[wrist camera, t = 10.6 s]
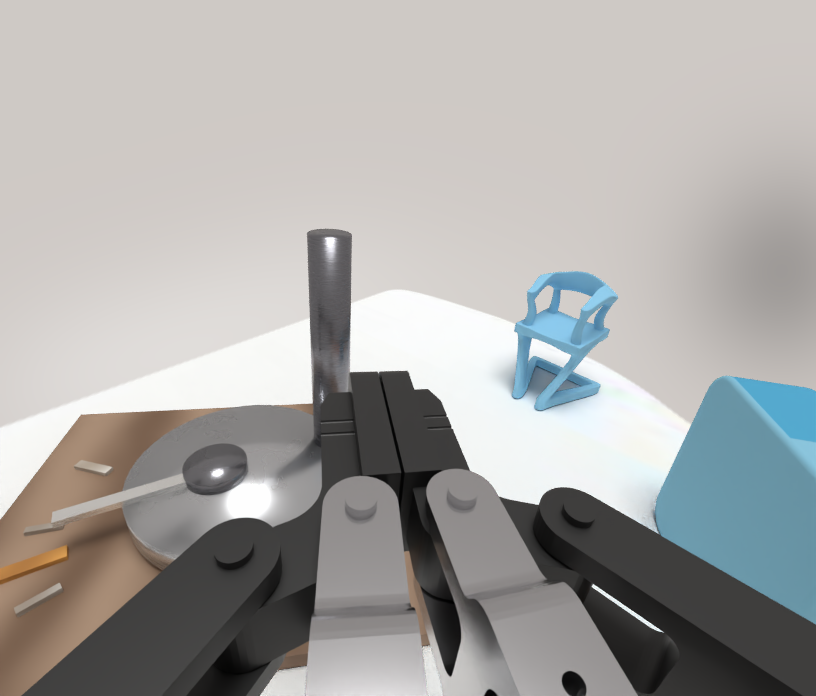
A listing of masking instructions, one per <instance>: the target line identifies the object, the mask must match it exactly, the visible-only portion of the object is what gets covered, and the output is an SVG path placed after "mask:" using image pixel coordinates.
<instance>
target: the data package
mask: <svg viewBox="0 0 816 696" xmlns="http://www.w3.org/2000/svg"><path fill="white" fill-rule="evenodd" d="M655 516H656V523H657V526H658V529H659V532H660V534H661V536H662V537H664V538H666V539H668V540H669V541H671V542H673V543H675V544H676V545H678V546H680V547H682V548H683V549H685V550H687V551H689V552H690V553H692V554H694V555H696V556H697V557H699V558H701V559H703V560H704V561H706V562H708V563H710V564H711V565H713V566H715V567H717V568H718V569H720V570H722V571H724V572H725V573H727V574H729V575H731V576H732V577H734V578H736V579H738V580H739V581H741V582H743V583H745V584H746V585H748V586H750V587H751V588H753V589H755V590H757V591H758V592H760V593H762V594H764V595H765V596H767V597H769V598H771V599H772V600H774V601H776V602H778V603H779V604H781V605H783V606H785V607H786V608H788V609H790V610H792V611H793V612H795V613H797V614H799V615H800V616H802V617H804V618H806V619H807V620H809V621H811V622H813V623H814V624H816V391H814V390H812V389H809V388H805V387H798V386H791V385H784V384H778V383H771V382H765V381H758V380H752V379H745V378H738V377H732V376H722V377H720V378H718V379H716V380H715V381H714V382H713V383H712V384H711V386H710V387H709V389H708V391H707V393H706V395H705V397H704V399H703V401H702V403H701V405H700V408H699V410H698V412H697V414H696V416H695V418H694V421H693V422H692V425H691V427H690V429H689V431H688V433H687V435H686V437H685V439H684V442H683V444H682V446H681V448H680V450H679V452H678V454H677V456H676V459H675V461H674V463H673V465H672V467H671V469H670V471H669V473H668V476H667V478H666V480H665V482H664V484H663V486H662V488H661V490H660V493H659V495H658V497H657V501H656V507H655Z"/></svg>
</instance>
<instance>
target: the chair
mask: <svg viewBox="0 0 816 696" xmlns="http://www.w3.org/2000/svg"><path fill="white" fill-rule="evenodd" d="M547 285H550V286H552V287H553V288H554V292H553V297H552V301H551V304H550V307H549V308H548V309H546V310H543V311H542V312H540V313H538V314H537V315H536V305H535V301H534V300H535V298H536V297H537V295H538V294H539V293H540V292H541V291H542V289H544V287H546V286H547ZM562 289H563V290H572V291H577V292H581V293H584V294H587V295H589V296H592V297H591V298H590V300H589V301H588V302H587V303H586V304H585V306H584V307H583V308H582V309H581V314H580V318H579V319H576V318H573V317H570V316H568V315H566V314H564V313H562V312H559V311H558V307H559V303H560V290H562ZM527 292H528V293H527V301H528V313H527V316H526V318H525V319H524V320H522V321H520V322H518V323H516V325H515V330H514V331H515V332H517V333H518V354H517V365H516V376H515V385H514V390H513V393H512V397H514V398H517V399H518V398H521V397H522V396H523V395H524V394H525V392H526V390H527V388H528V385H529V383H530V380H531V377H532V374H533V371H534V368H535V367H536V366H538V367H540V368H543V369H545V370H547V371H549V372H552V373H554V374H556V375H557V376H556V377H555V378H554V379H553V380H552V382H551V383H550V384H549V385H548V386H547V387H546V388H545V389H544V390H543V392H542V393H541V394H540V395H539V396H538V397H537V400H536V403H535V409H537V410H544V409H547V408H549V407H552V406H555V405H558V404H562V403H565V402H569V401H573V400H577V399H580V398H584V397H588V396H591V395H594V394H596V393H598V391H599V388H600V384H599V383H597V382H595V381H592V380H590V379H588V378H585V377H583V376H581V375H578V374H576V373H574V372H573V370H574V369H575V368H576V367H577V366H578V364H579V363H580V362H581V361H582V360H583V358H584V357H585V356H586V355H587V354H588V352H589V351H590V350H591V349H592V348H593V347H595V345H597V344H598V343H599V342H601V341H603V340H604V339H606V338H607V337H608V334H609V331H610V330H609V329H607V328H604V325H603V322H604V318H605V315H606V313H607V312H608V310H609V309H610V307H611V306H612V304H613V303H614V302H615V301H616V300H617V299H618V296H617V294H616V293H615V292H614V291H613V290H612V289H611V288H610V287H609V286H608V285H607V284H606V283H604V282H603V281H602V280H600V279H599V278H597V277H596V276H594V275H592V274H589V273H586V272H578V271H575V272H555V273H549V274H543V275H541V276H539V277H538V279H537V280H536V281H535V283H534V284H533V286H532V287H531V288H530V289H529V290H528V291H527ZM601 306H603V307H602V308H601V309H600V310H599V311H598V313H597V314H596V317H595V319H594V324H592V323H588V322H587V320H588V318H589V317H590V316H591V315H592V314H593V313H594V312H595V311H596V310H598V309H599V308H600V307H601ZM532 338H534V339H538V340H541V341H543V342H545V343H548V344H550V345H552V346H554V347H556V348H558V349H560V350H562V351H563V352H566V353H568V354H571V358H570V360H569V361H568V363H567V364H566V365H565V366H564V368H562V367H560V366H558V365H555V364H553V363H551V362H548V361H546V360H544V359H541V358H539V357H536V356H533V357H532V358H531V359H530V361H529V362H528V357H529V350H530V344H531V339H532ZM566 379H567V380H569V381H572V382H574V383H576V384H578V385H581V386H580V387H576V388H571V389H566V390H562V391H557V392H555V391H556V390H557V389H558V388H559V387H560V386H561V384H562V383H563V382H564V381H565V380H566Z"/></svg>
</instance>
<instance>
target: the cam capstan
mask: <svg viewBox="0 0 816 696" xmlns="http://www.w3.org/2000/svg"><path fill="white" fill-rule="evenodd" d="M307 242H308V271H309V272H308V273H309V299H310V300H309V303H310V334H311V364H312V394H313V415H311V414H308V413H306V412H303V411H300V410H296V409H293V408H288V407H282V406H272V405H252V406H241V407H234V408H229V409H224V410H220V411H216V412H213V413H209V414H206V415H203V416H201V417H198V418H195V419H193V420H191V421H189V422H186V423H184V424H182V425H180V426H179V427H177V428H175V429H173V430H172V431H170V432H168V433H167V434H165V435H164V436H162V437H161V438H160V439H158V440H157V441H156V442H154V443H153V444H152V445H151V446H150V447H149V448H148V449H147V450H146V451H145V452H144V453H143V454H142V455H141V456H140V457H139V458H138V460H137V461H136V462H135V464H134V465H133V467H132V468H131V470H130V471H129V474H128V476H127V478H126V480H125V483H124V487H123V490H122V492H118V493H115V494H111V495H108V496H105V497H101V498H98V499H95V500H91V501H88V502H84V503H81V504H78V505H74V506H71V507H67V508H64V509H61V510H57V511H54V512H52V520H51V524H52V526H53V528H56V527H60V526H63V525H66V524H69V523H72V522H76V521H79V520H82V519H85V518H88V517H92V516H95V515H98V514H101V513H105V512H108V511H111V510H114V509H117V508H121V507H122V509H123V514H124V517H125V520H126V523H127V526H128V529H129V532H130V535H131V538H132V540H133V543H134V545H135V547H136V548H137V549H138V551H139V552H140V554H141V555H142V556H143V557H144V558H145V559H147V560H148V561H149V562H150V563H151V564H153V565H155V566H156V567H158V568H159V569H161V570H164V569H165V568H166V567H167V566H168V565H170V564H171V563H172V562H173V561H174V560H175V559H176V558H177V557H179V556H180V555H181V554H182V553H183V552H184V551H185V550H187V549H188V548H189V547H190V546H191V545H192V544H193V543H194V542H196V541H197V540H198V539H199V538H200V537H201V536H202V535H203V534H205V533H206V532H207V531H209V530H210V529H211V528H213V527H215V526H216V525H218V524H220V523H223V522H225V521H228V520H231V519H236V518H245V517H248V518H256V519H260V520H262V521H265V522H267V523H268V524H269V525H271V526H272V527H274V526H277V525H279V524H282V523H285V522H287V521H290V520H292V519H294V518H297V517H298V516H300V515H302V514H303V513H305V512H306V511H307V510H308V509H309V508H310V507H311V506H312V505H313V504H314V503H315V502H316V500H317V499H318V497H319V495H320V492H321V488H322V465H321V407H320V406H321V404H322V403H323V401H324V400H325V398H326V396H327V395H328V393H337V392H348V377H349V372H350V318H351V248H352V243H351V242H352V235H351V233H349V232H346V231H342V230H336V229H317V230H311V231H309V232H308V233H307Z"/></svg>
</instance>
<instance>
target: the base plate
mask: <svg viewBox="0 0 816 696" xmlns="http://www.w3.org/2000/svg"><path fill="white" fill-rule="evenodd" d="M274 406H282V407H288V408H293V409H296V410H300V411H303V412H306V413H308V414H311V415H313V404H295V405H274ZM233 408H234V407H233ZM224 409H229V408H212V409H191V410H170V411H150V412H129V413H108V414H87V415H81V416H80V417H79V418H78V420H77V421H76V422H75V423H74V425H73V426H72V427H71V429H70V430H69V431H68V433H67V434H66V435H65V436H64V438H63V439H62V440H61V442H60V443H59V444H58V446H57V447H56V448H55V450H54V451H53V452H52V453H51V455H50V456H49V457H48V459H47V460H46V461H45V463H44V464H43V465H42V466H41V468H40V469H39V470H38V472H37V473H36V474H35V476H34V477H33V478H32V479H31V481H30V482H29V483H28V485H27V486H26V487H25V489H24V490H23V491H22V493H21V494H20V495H19V496H18V498H17V499H16V500H15V502H14V503H13V504H12V506H11V507H10V508H9V509H8V511H7V512H6V513H5V515H4V516H3V517H2V519H1V520H0V696H21V695H23V694H24V693H25V692H26V691H27V690H28V689H29V688H30V687H32V686H33V685H34V684H35V683H36V682H37V681H38V680H40V679H41V678H42V677H43V676H44V675H45V674H46V673H47V672H49V671H50V670H51V669H52V668H53V667H54V666H55V665H57V664H58V663H59V662H60V661H61V660H62V659H63V658H64V657H66V656H67V655H68V654H69V653H70V652H71V651H72V650H73V649H75V648H76V647H77V646H78V645H79V644H80V643H81V642H83V641H84V640H85V639H86V638H87V637H88V636H89V635H90V634H92V633H93V632H94V631H95V630H96V629H97V628H98V627H99V626H101V625H102V624H103V623H104V622H105V621H106V620H107V619H109V618H110V617H111V616H112V615H113V614H114V613H115V612H116V611H118V610H119V609H120V608H121V607H122V606H123V605H124V604H125V603H127V602H128V601H129V600H130V599H131V598H132V597H133V596H135V595H136V594H137V593H138V592H139V591H140V590H141V589H142V588H144V587H145V586H146V585H147V584H148V583H149V582H150V581H151V580H153V579H154V578H155V577H156V576H157V575H158V574H159V573H161V572H162V571H163V570H161V569H159V568H158V567H156V566H155V565H153V564H151V563H150V562H149V561H148V560H147V559H145V558H144V557H143V556H142V555H141V554H140V552H139V551H138V549H137V548H136V547H135V545H134V543H133V540H132V538H131V535H130V532H129V529H128V526H127V523H126V520H125V517H124V514H123V509H122V507H121V508H117V509H114V510H111V511H108V512H105V513H101V514H98V515H95V516H92V517H88V518H85V519H82V520H79V521H76V522H72V523H69V524H66V525H63V526H60V527H56V528H53V526H52V524H51V520H52V512H54V511H57V510H61V509H64V508H67V507H71V506H74V505H78V504H81V503H84V502H88V501H91V500H95V499H98V498H101V497H105V496H108V495H111V494H115V493H118V492H122V490H123V487H124V483H125V480H126V478H127V476H128V474H129V471H130V470H131V468H132V467H133V465H134V464H135V462H136V461H137V460H138V458H139V457H140V456H141V455H142V454H143V453H144V452H145V451H146V450H147V449H148V448H149V447H150V446H151V445H152V444H153V443H154V442H156V441H157V440H158V439H160V438H161V437H162V436H164V435H165V434H167V433H168V432H170V431H172V430H173V429H175V428H177V427H179V426H180V425H182V424H184V423H186V422H189V421H191V420H193V419H195V418H198V417H201V416H203V415H206V414H209V413H213V412H216V411H220V410H224ZM404 556H405V565H406V574H407V582H408V591H409V599H410V604H411V607H414V608H415V610H416V613H417V617H418V622H419V628H420V636H421V644H422V646H425V645H430V642H429V639H428V635H427V632H426V628H425V625H424V621H423V618H422V614H421V611H420V607H419V603H418V600H417V596H416V593H415V589H414V584H413V578H414V572H413V568H412V563H411V558H410V553H409V551H405V552H404ZM308 649H309V641H308V642H306V643H304V644H302V645H301V646H299V647H297V648H295V649H293V650H291V651H289V652H287V653H286V656H285V658H284V661H283V662H282V664H281V666H280V667H279V669H278V670H281V669H287V668H293V667H299V666H305V665H307V661H308Z"/></svg>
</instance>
